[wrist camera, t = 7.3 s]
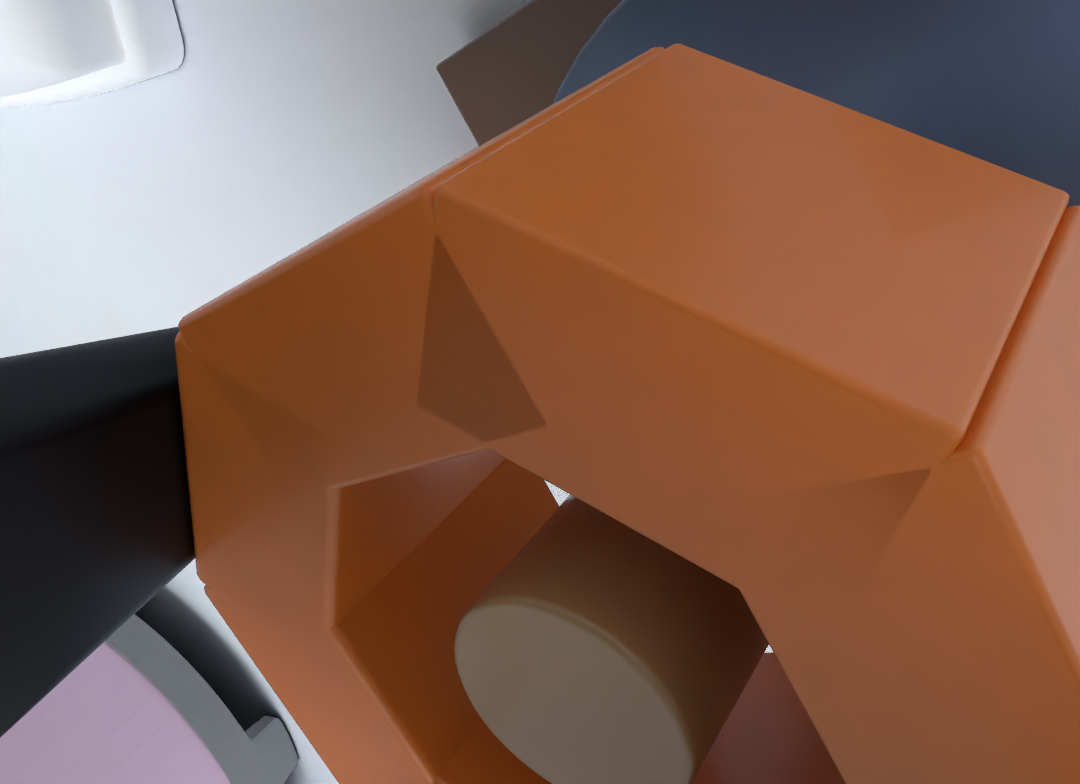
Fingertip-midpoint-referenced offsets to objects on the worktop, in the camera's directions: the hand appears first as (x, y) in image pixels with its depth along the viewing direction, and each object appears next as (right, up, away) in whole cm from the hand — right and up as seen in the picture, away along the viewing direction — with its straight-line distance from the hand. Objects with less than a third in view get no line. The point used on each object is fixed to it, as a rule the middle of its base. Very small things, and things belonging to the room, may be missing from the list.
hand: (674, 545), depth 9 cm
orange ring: (+1, +1, +1) cm, 1 cm away
